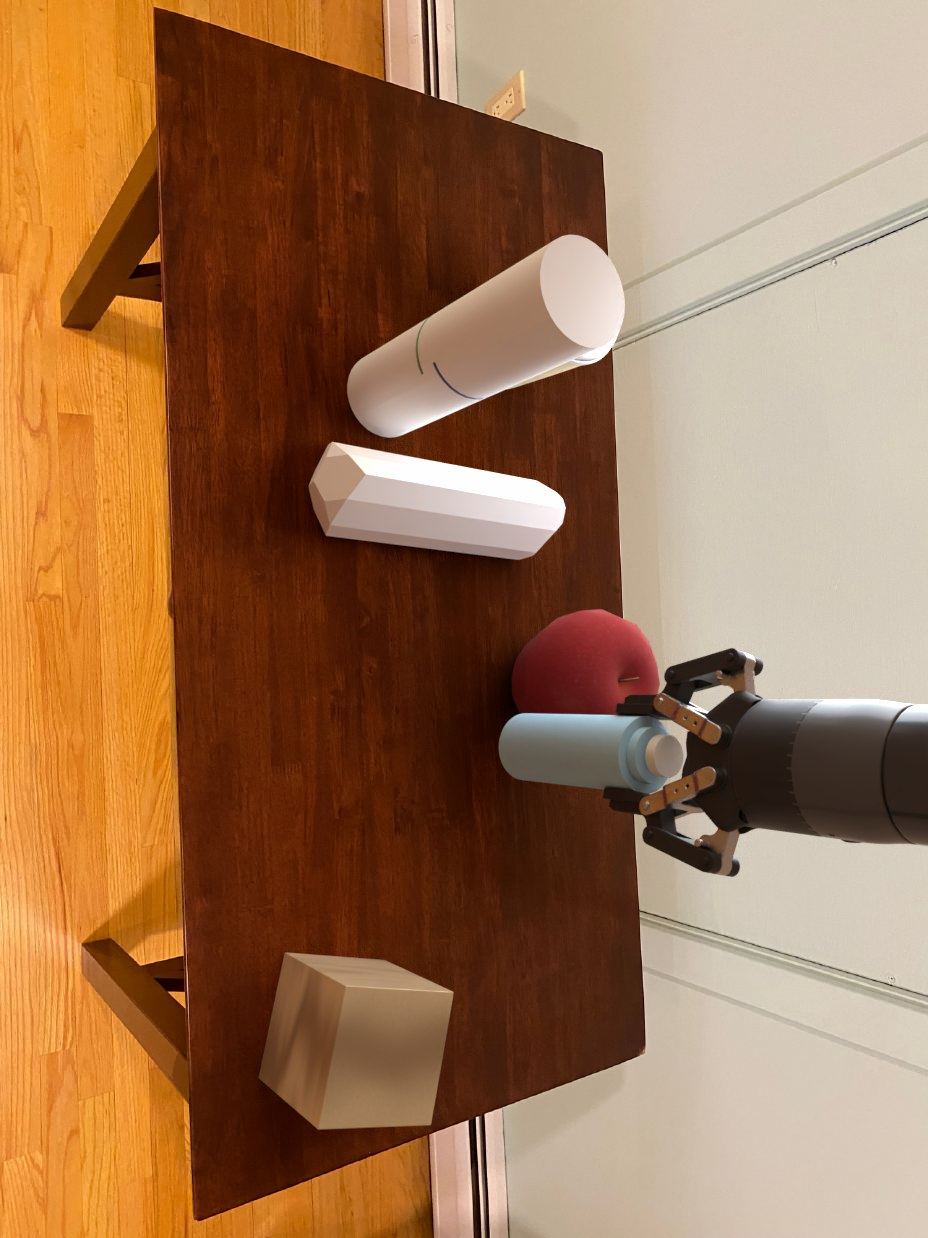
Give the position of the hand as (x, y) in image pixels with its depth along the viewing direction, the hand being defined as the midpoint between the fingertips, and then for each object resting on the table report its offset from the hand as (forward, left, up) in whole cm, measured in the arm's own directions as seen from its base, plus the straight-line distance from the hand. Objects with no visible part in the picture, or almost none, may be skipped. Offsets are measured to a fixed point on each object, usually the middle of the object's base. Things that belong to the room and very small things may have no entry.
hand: (618, 753), depth 64 cm
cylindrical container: (+27, +13, -20) cm, 36 cm away
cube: (-23, +7, -20) cm, 31 cm away
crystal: (+19, +7, -20) cm, 29 cm away
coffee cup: (+36, +3, -20) cm, 42 cm away
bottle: (0, 0, -10) cm, 10 cm away
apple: (+7, -8, -20) cm, 23 cm away
